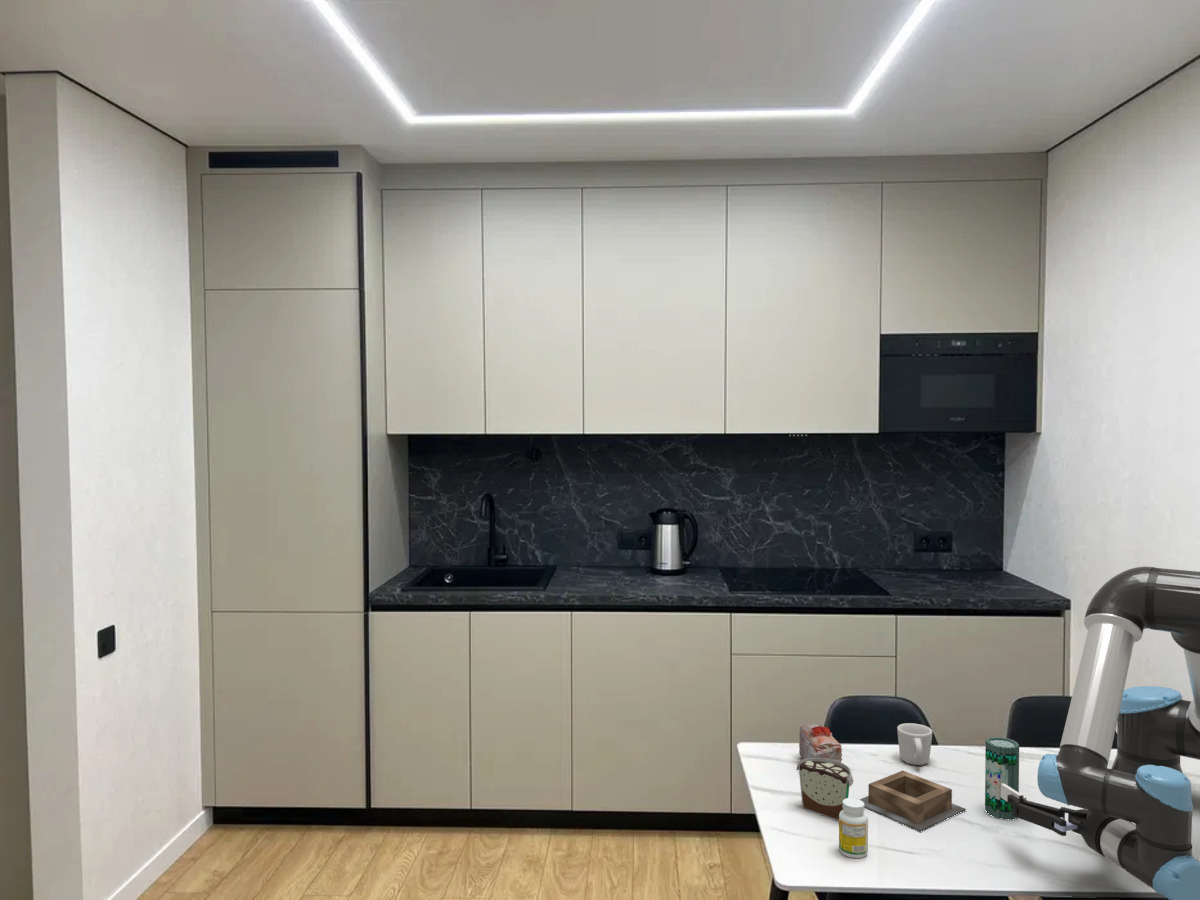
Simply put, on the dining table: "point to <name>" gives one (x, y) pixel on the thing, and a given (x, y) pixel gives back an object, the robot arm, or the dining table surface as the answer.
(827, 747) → the food item
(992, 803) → the can
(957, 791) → the dining table surface
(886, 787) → the holder
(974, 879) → the dining table surface
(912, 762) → the cup
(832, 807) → the food container
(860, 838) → the supplement bottle
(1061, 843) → the dining table surface
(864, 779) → the dining table surface
